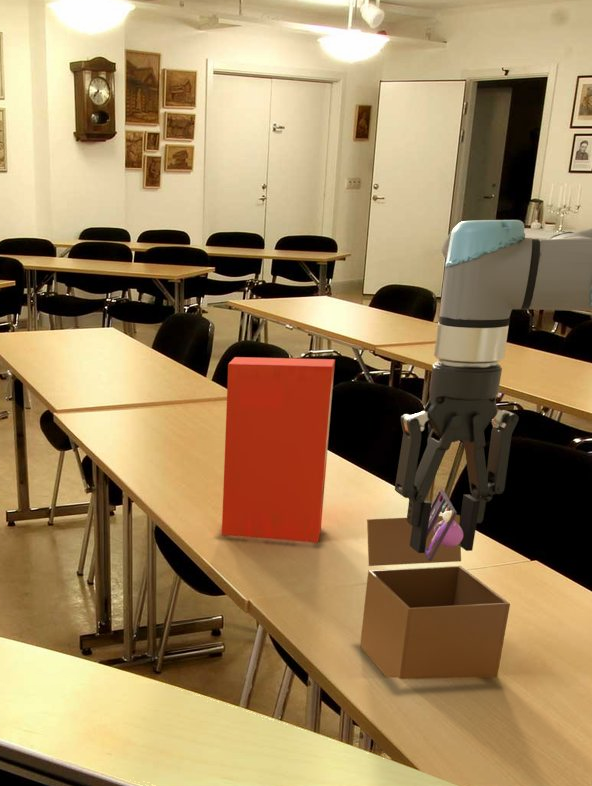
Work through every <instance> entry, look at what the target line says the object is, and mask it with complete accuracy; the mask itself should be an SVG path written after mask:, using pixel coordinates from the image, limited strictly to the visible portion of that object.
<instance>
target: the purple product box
mask: <svg viewBox="0 0 592 786" xmlns="http://www.w3.org/2000/svg"><path fill="white" fill-rule="evenodd" d="M440 514H442V515H441V516H442V517H443V519H444V520H442V521H440V522H439V523H438V524H437V525H436V526H435V527H434V530H433V533H434V538H433V539H432V542H431V544H430V546H429V550H428V548H427V546H425V555H426V557H427V559H428V560H429V561H432V559H433V557H434V555H435V553H436V552H437V550H438V548H439V546H440V544H441V545H443V546H446V547H454V546H458V547H459V546H460V545H461V543H460V542H461V541H462V539H463V531H462V529H461V527H460V526H459V525H458V524H457V523H456V522H455V521H454V518H455V516H456V515H458V512H457V510H456V509H455V507H454V506H453V503H452V502H451V500H450V498H449V497H448V495H447V493H446V492H445V490H444V489H442V488H440V489H439V491H438V492H437V495H436V496H435V498H434V500H433V502H432V503H431V510H430V518H429V525H428V532H427V537H428V535H429V533H430V531H431V529H432V527H433V525H434V524H435V522H436V520H437V518H438V516H440ZM436 539H437V543H436V545H435V547H434V549H433V551H432V549H431V548H432V546H433V544H434V542H435V541H436ZM431 551H432V553H431V554H430V552H431Z"/></svg>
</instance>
